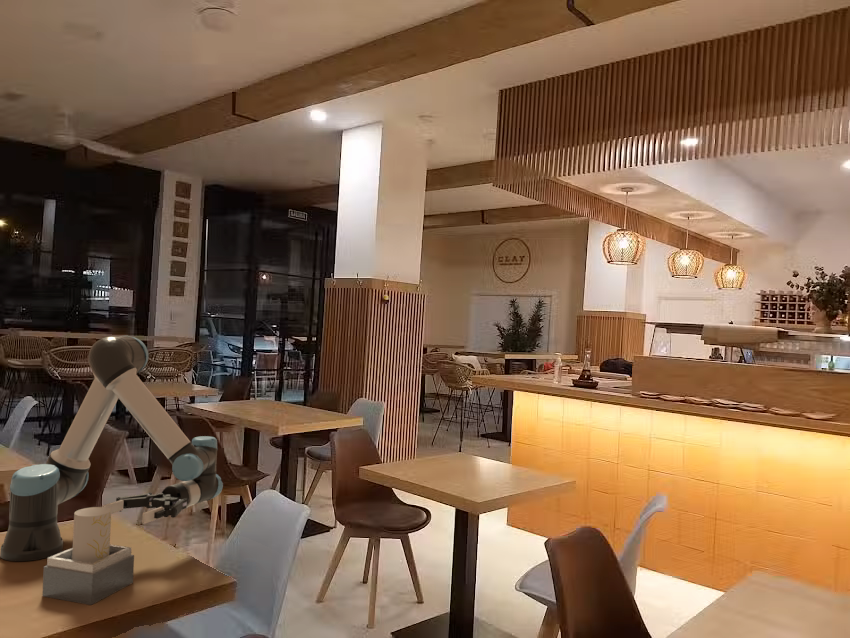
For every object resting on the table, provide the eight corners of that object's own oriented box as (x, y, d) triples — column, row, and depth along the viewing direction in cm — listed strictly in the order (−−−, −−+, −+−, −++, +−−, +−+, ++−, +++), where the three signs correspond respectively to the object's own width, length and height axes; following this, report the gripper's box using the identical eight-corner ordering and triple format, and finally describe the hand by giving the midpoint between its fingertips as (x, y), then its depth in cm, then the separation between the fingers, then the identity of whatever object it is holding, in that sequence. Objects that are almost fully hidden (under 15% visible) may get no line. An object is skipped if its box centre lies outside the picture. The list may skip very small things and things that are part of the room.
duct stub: (42, 596, 156) (44, 558, 156) (87, 575, 170) (88, 540, 170) (91, 604, 152) (92, 566, 152) (132, 582, 166) (134, 547, 166)
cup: (93, 568, 156) (96, 517, 156) (63, 564, 158) (66, 514, 158) (116, 556, 164) (118, 508, 164) (87, 553, 166) (90, 505, 166)
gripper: (214, 515, 186) (160, 536, 166) (145, 503, 195) (86, 521, 175) (216, 488, 186) (161, 506, 166) (146, 477, 195) (87, 493, 175)
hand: (122, 514), depth 171 cm, fingers open, 13 cm apart
